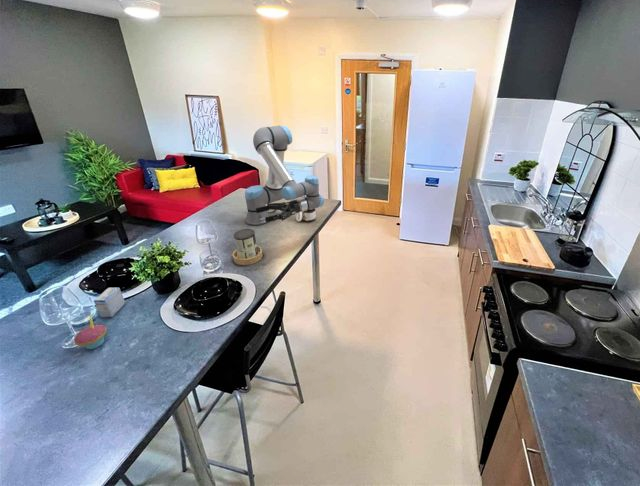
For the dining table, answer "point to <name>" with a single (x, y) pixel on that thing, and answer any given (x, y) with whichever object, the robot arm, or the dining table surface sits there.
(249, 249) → the coffee can
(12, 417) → the dining table surface
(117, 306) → the medicine box
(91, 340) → the cupcake
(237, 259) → the round tan tray
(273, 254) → the dining table surface
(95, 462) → the dining table surface
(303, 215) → the spread jar
